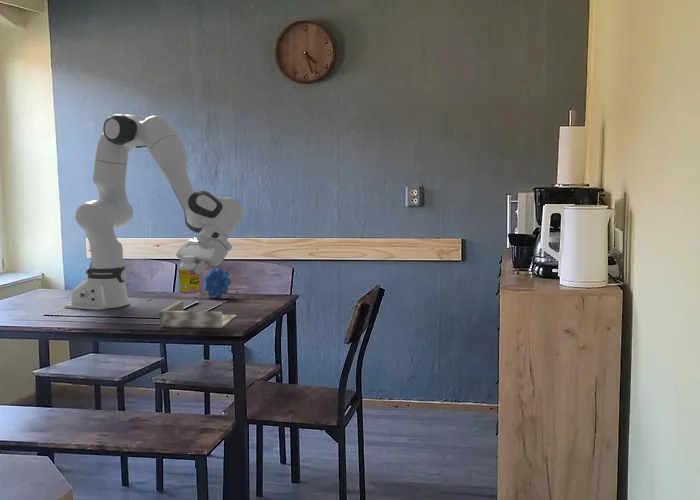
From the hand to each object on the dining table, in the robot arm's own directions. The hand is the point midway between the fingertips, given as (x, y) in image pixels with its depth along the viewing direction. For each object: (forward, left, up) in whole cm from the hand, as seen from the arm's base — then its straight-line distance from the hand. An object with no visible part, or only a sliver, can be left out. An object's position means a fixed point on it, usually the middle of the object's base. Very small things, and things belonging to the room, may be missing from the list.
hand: (187, 272), depth 235 cm
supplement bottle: (0, +1, -8) cm, 8 cm away
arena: (+3, +2, -17) cm, 17 cm away
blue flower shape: (-3, +44, -17) cm, 47 cm away
